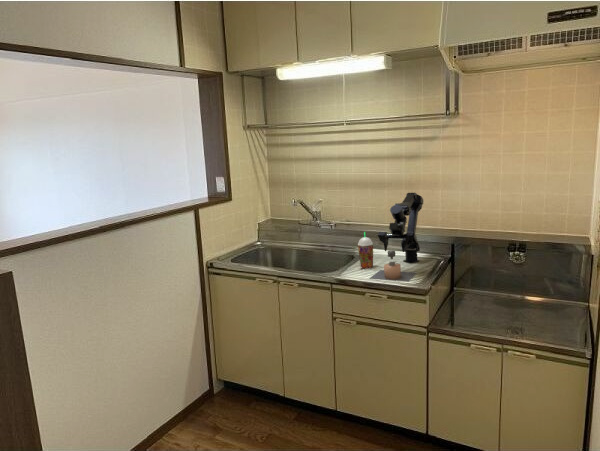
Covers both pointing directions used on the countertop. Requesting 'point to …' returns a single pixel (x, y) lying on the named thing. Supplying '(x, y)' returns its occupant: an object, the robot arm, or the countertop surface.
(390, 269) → the pump bottle
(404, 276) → the drip mat
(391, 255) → the pump head
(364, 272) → the countertop surface
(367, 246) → the smoothie
